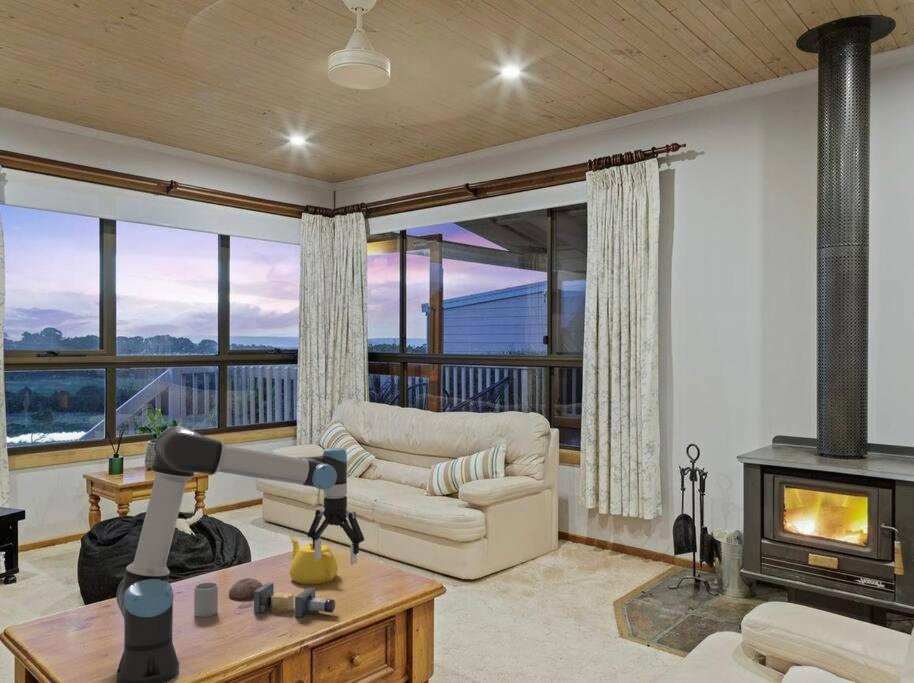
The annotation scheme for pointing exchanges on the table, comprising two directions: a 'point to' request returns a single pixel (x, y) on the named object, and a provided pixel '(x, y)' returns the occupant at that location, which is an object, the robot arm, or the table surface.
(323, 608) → the shaft
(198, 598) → the cup
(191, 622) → the table surface
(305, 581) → the teapot
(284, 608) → the block
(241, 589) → the decorative stone
